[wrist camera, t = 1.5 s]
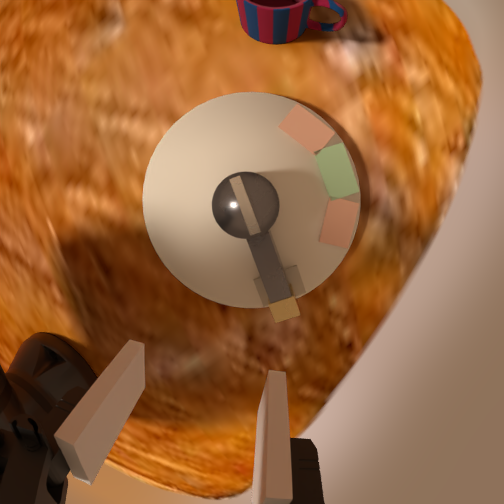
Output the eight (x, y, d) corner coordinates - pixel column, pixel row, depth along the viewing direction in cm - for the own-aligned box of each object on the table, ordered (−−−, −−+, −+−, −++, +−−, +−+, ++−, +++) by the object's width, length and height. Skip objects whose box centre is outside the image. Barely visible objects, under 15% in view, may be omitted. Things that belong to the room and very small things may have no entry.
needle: (212, 185, 25) (201, 185, 21) (266, 165, 25) (265, 161, 21) (260, 310, 28) (259, 332, 24) (311, 294, 27) (318, 313, 23)
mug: (258, -10, 22) (255, -48, 15) (345, 25, 22) (362, -8, 16) (228, 31, 23) (218, -4, 17) (320, 69, 24) (335, 39, 17)
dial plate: (194, 324, 30) (190, 332, 29) (123, 146, 26) (115, 145, 25) (378, 263, 28) (384, 268, 26) (312, 71, 24) (314, 65, 22)
